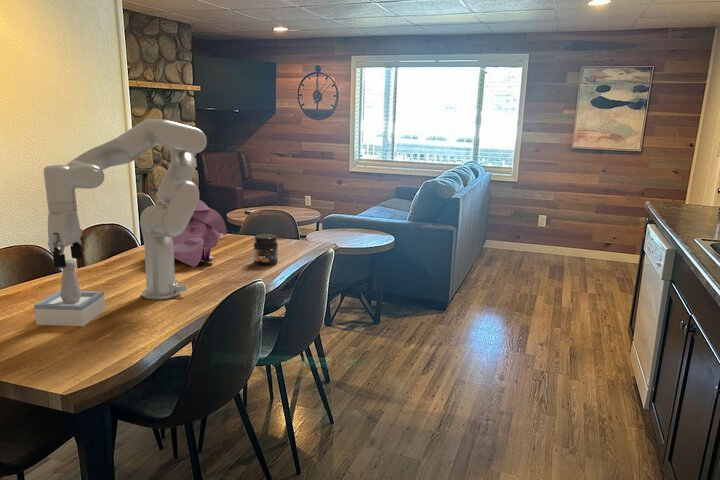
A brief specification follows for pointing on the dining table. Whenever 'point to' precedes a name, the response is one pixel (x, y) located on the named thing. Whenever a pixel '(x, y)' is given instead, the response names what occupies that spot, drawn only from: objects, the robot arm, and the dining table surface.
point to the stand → (69, 309)
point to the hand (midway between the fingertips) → (69, 262)
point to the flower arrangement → (199, 236)
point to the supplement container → (265, 249)
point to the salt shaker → (70, 284)
